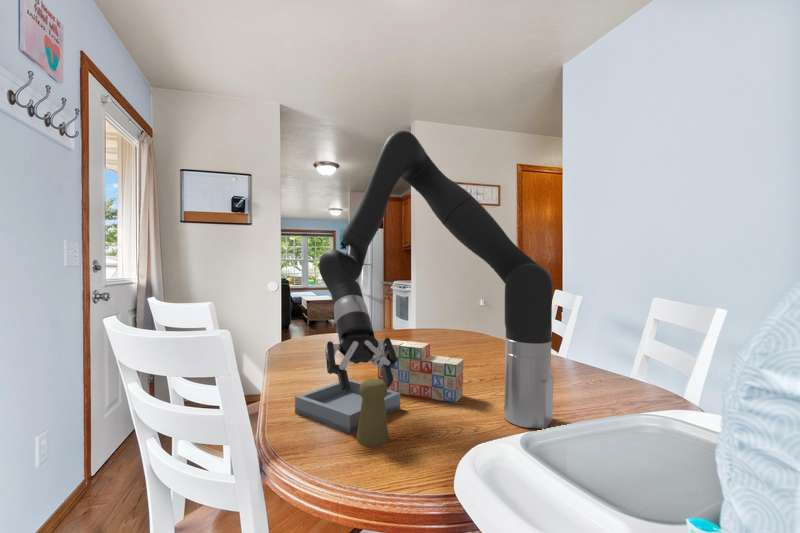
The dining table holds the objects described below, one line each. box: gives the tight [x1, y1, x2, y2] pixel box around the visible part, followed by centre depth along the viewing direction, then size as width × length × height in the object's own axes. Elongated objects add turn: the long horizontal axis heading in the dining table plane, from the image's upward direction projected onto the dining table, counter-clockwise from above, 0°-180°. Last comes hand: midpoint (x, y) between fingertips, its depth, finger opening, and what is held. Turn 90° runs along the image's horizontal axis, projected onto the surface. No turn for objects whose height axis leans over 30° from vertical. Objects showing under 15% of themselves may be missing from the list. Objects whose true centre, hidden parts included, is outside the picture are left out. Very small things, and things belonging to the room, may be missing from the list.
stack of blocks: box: [377, 339, 464, 404], centre depth 98 cm, size 21×6×12 cm, turn 64°
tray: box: [294, 378, 401, 435], centre depth 85 cm, size 16×16×4 cm
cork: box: [356, 378, 390, 447], centre depth 72 cm, size 6×6×11 cm
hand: (368, 388), depth 74 cm, fingers open, 8 cm apart
